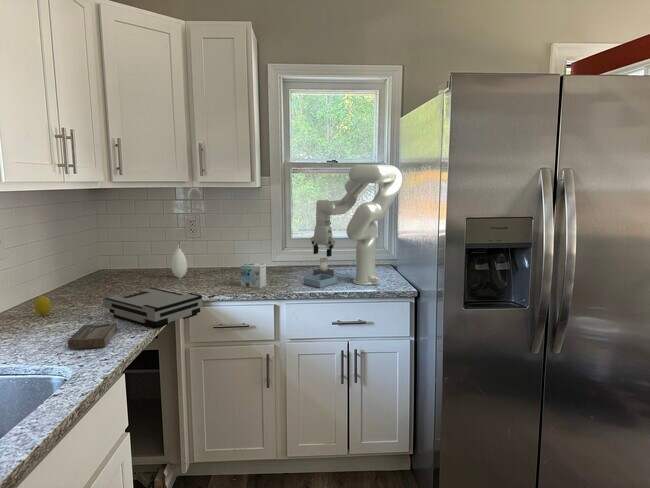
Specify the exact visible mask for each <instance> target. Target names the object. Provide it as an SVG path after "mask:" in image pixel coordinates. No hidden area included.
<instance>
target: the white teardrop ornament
mask: <svg viewBox="0 0 650 488" xmlns="http://www.w3.org/2000/svg"><path fill="white" fill-rule="evenodd" d="M179 247H180V246H179V244H177V248H176V249H175V252H173V255H172V258H171V270H172V274H173V275H174V276H175V277H176V278H178V279H181V278H183V277H184V276H186V274H187V271H188V261H187V258H186V255H185V254H184V252H183V251H182V249H181V248H179Z"/></svg>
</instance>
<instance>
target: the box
mask: <svg viewBox="0 0 650 488" xmlns="http://www.w3.org/2000/svg"><path fill="white" fill-rule="evenodd" d="M117 324H118V323H116V322H115V323H111V322H110V323H97V324H94V323H93V324H84V325H82V326H81V327H80V328H79V329H78V330H77V331H76V332H75V333H74V334H73V335H72V336H71V337H70V338H69V339H68V340H67V349H68V350H69V349H70V350H71V349H72V350H85V349H90V350H91V349H96V348H97V349H99V348H102V349H104V348H105V347H106V346H107V344H108V343H109V342H110V341H111V339H112V338H113V337H114V335H115V334H116V333H117V331H118V328H117V327H118V325H117Z"/></svg>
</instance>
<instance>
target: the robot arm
mask: <svg viewBox="0 0 650 488" xmlns="http://www.w3.org/2000/svg"><path fill="white" fill-rule="evenodd" d="M348 177H349V179H348V180H347V181H346V183H345V184H344V189H345V191H346V193H345V195H344V196H343V197H342V198H341V199H338V200H337V199H336V200H328V199H318V200H316V202H315V205H316V206H315V208H316V209H315V211H316V212H315V226H314V231H313V236H311V237H310V241H311V244H312V247H313V255H317V254H319V245H320V246H321V245H322V246H326V247H325V248H327V249H326V258H329V257H332V251H333V248H334V247H335V244H336V241H335V240H334V239H333V228H332V226H331V224H332V222H331V216H337V215H344V214H346V213H347V212H349V211H350V210H351V209H352V208H353V207H354V206H355V204H356V203H357V200H358V196H359V195H360V194H361V193H362V192H363V190H365V188H367V186H368V185H369V184H383V185H382V186H381V187H380V188H379V189H378V191H377V192H376V194H375V196H374V197H373V199H372V200H371V201H365V202H362V203H361V204H360V205H359V206H358V207H357V208H356V209H355V211H354V212H353V215H352V217H351V218H350V220H349V222H348V224H347V226H346V236H347V237H348V239H350V240H351V241H357V242H356V246H355V249H356V250H355V278H353V280H352V282H353V284H356V285H360V286H373V285H377V284H378V283H380V281H381V279H382V277H381V276H378V274H377V273H376V250H377V249H376V246H377V244H376V243H377V236H378V226H377V223H376V222H378V221H379V222H380V221H381V220H383V219H384V217H385V216H386V214H387V213H388V210H389V209H390V207H391V206H392V204H393V202H394V200H395V199H396V197H397V195H398V194H399V192H400V191H401V188H402V185H403V176H402V173H401V171H400V169H399V168H398V167H396V166H394V165H393V164H392V165H391V164H355V165H353V166H352V167H351V168H350V170H349V172H348Z"/></svg>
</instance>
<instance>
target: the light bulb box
mask: <svg viewBox="0 0 650 488" xmlns="http://www.w3.org/2000/svg"><path fill="white" fill-rule="evenodd" d="M240 285H241V287H243V288H254V289H262V288H263V287H266V286H267V264H266V263H257V262H256V263H255V262H246V263H243V264H241V265H240Z"/></svg>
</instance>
